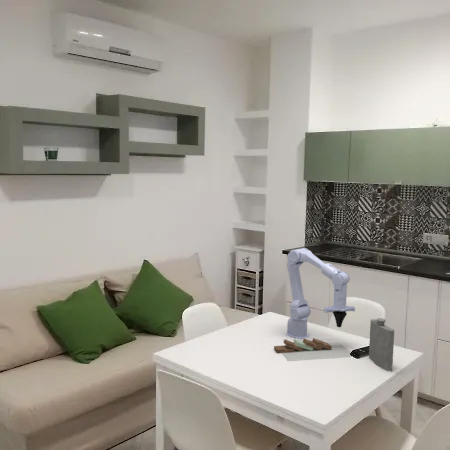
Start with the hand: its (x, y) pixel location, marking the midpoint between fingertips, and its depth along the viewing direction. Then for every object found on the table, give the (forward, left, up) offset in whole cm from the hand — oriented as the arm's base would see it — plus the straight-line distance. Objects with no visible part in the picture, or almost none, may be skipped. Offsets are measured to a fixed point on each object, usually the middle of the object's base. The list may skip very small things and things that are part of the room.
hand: (338, 326), depth 238 cm
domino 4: (-3, -4, -9) cm, 10 cm away
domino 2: (-11, -15, -9) cm, 21 cm away
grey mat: (-4, -13, -10) cm, 17 cm away
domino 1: (-13, -18, -9) cm, 24 cm away
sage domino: (-8, -11, -9) cm, 16 cm away
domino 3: (-5, -7, -9) cm, 13 cm away
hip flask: (+23, -4, -11) cm, 25 cm away
